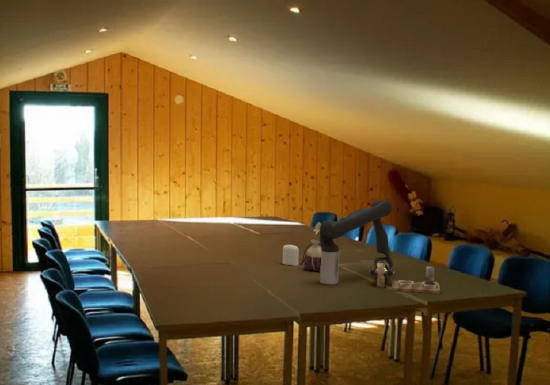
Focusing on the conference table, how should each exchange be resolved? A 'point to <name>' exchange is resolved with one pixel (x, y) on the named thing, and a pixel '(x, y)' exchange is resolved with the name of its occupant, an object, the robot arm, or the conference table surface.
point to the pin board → (418, 284)
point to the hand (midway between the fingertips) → (380, 274)
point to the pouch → (312, 256)
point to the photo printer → (290, 255)
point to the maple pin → (380, 274)
